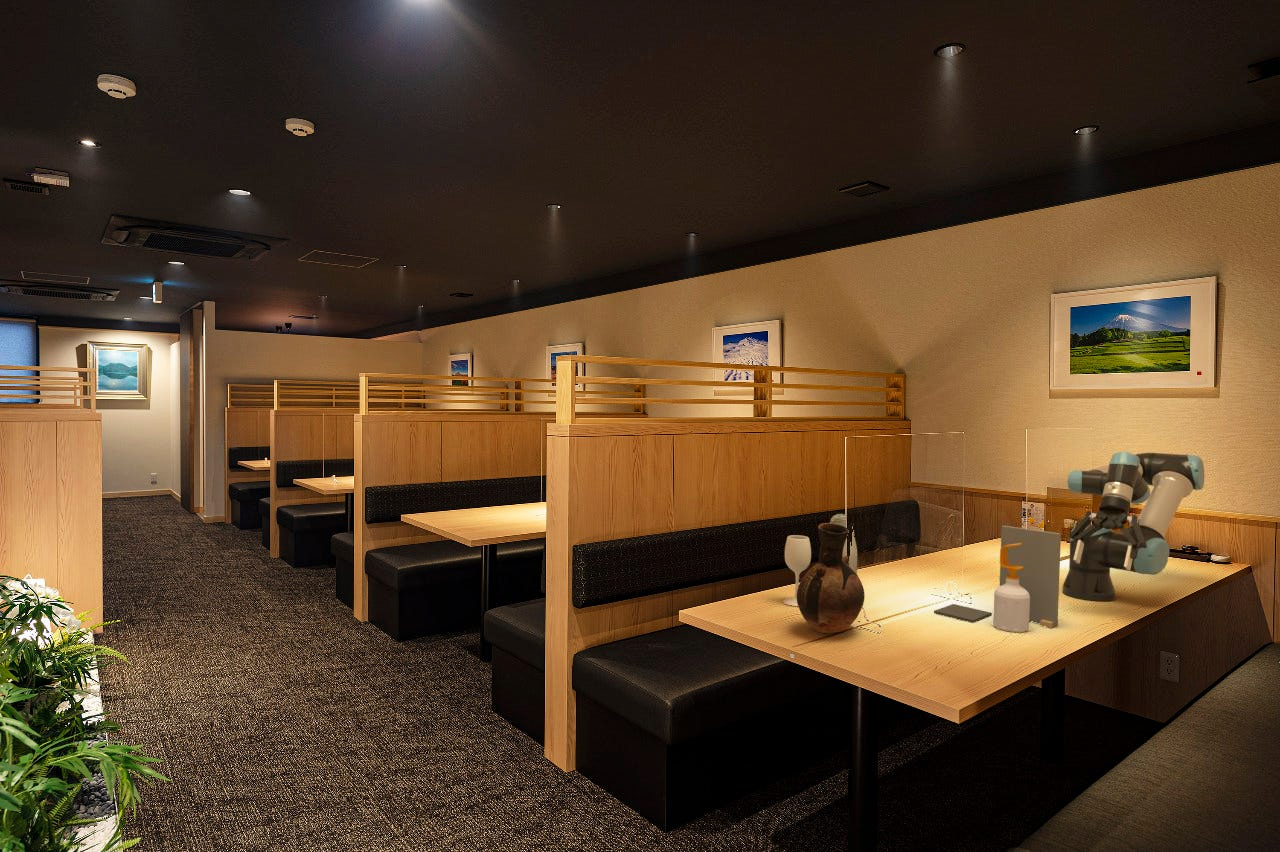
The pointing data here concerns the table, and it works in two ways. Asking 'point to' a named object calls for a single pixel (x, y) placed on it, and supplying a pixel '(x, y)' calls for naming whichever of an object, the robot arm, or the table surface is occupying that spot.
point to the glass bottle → (841, 520)
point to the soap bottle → (1011, 599)
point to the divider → (1035, 569)
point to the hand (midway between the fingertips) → (1101, 565)
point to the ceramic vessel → (831, 585)
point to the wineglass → (797, 559)
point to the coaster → (963, 613)
